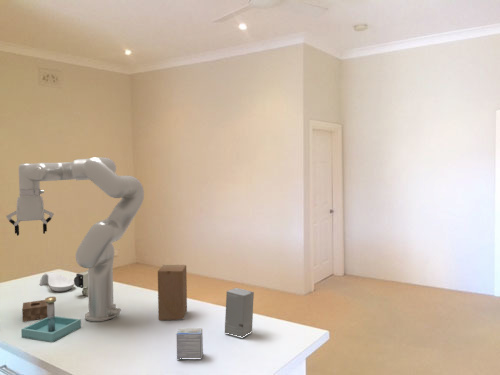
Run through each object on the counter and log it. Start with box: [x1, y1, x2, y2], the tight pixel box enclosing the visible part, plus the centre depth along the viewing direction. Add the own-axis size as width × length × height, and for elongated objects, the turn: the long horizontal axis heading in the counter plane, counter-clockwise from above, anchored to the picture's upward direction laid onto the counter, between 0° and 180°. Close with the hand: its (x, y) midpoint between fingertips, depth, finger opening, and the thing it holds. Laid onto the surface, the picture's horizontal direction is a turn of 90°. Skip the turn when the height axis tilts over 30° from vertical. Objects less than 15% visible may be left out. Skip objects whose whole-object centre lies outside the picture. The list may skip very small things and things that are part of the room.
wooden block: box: [157, 264, 188, 321], centre depth 167 cm, size 10×10×20 cm
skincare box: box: [224, 287, 255, 337], centre depth 148 cm, size 8×7×16 cm
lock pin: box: [44, 296, 57, 332], centre depth 151 cm, size 4×4×12 cm
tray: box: [20, 315, 82, 343], centre depth 151 cm, size 14×14×3 cm
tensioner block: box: [21, 299, 48, 323], centre depth 168 cm, size 9×9×5 cm
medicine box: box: [175, 327, 204, 360], centre depth 131 cm, size 8×4×9 cm, turn 92°
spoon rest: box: [39, 272, 75, 293], centre depth 207 cm, size 24×12×7 cm, turn 55°
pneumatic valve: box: [73, 269, 88, 297], centre depth 196 cm, size 6×12×12 cm, turn 144°
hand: (31, 234), depth 170 cm, fingers open, 9 cm apart
